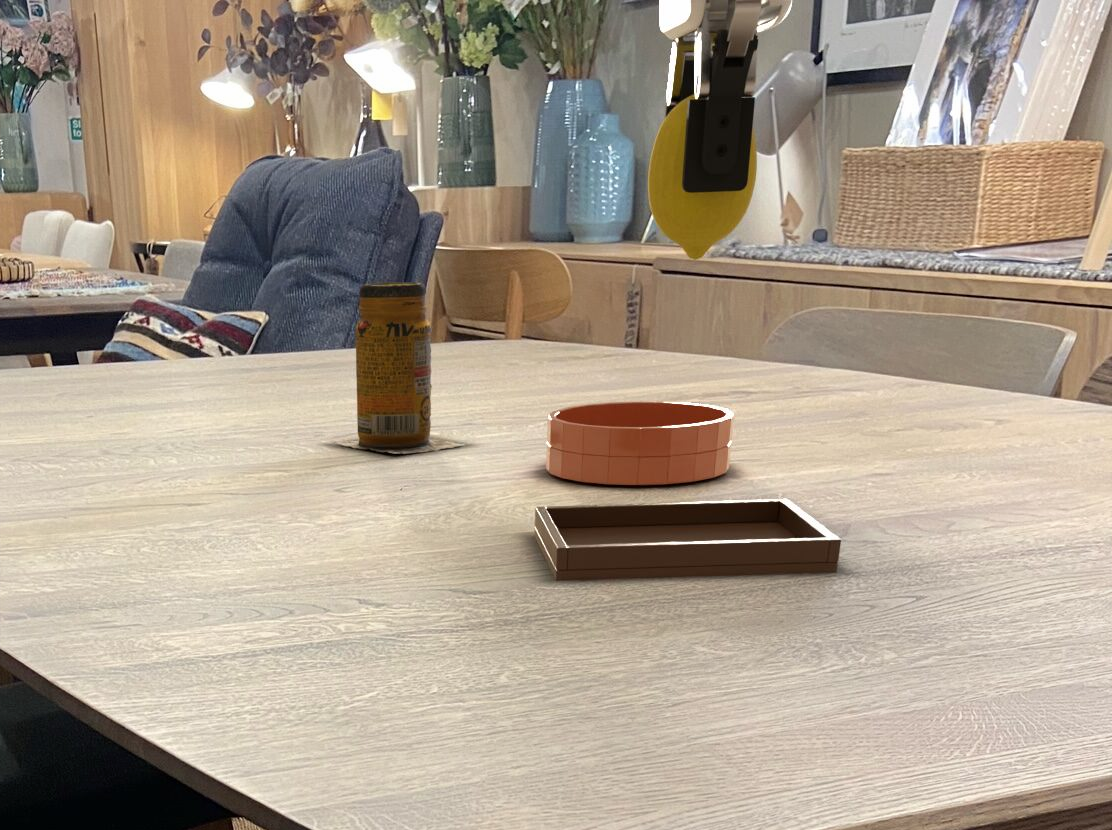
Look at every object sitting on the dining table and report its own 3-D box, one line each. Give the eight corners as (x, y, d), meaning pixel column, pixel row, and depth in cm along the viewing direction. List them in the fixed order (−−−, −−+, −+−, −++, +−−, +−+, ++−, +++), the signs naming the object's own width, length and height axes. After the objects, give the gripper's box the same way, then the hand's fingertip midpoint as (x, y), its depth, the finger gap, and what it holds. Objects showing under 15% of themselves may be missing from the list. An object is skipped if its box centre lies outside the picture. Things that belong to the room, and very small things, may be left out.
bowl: (706, 454, 111) (711, 399, 109) (745, 486, 100) (752, 424, 98) (537, 460, 111) (539, 404, 109) (557, 492, 100) (560, 430, 98)
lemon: (635, 259, 80) (644, 88, 76) (735, 255, 80) (750, 84, 76) (653, 264, 75) (664, 82, 71) (759, 260, 75) (777, 77, 71)
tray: (784, 529, 88) (787, 498, 87) (836, 573, 78) (841, 539, 77) (534, 537, 88) (535, 506, 87) (555, 582, 78) (557, 548, 77)
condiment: (404, 435, 123) (402, 279, 117) (466, 447, 117) (467, 282, 111) (333, 445, 120) (328, 285, 114) (394, 458, 114) (391, 289, 108)
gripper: (873, -316, 59) (817, 189, 68) (772, -217, 74) (737, 187, 83) (689, -308, 59) (658, 195, 68) (625, -211, 74) (606, 192, 83)
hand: (701, 187), depth 76 cm, fingers closed on lemon, 5 cm apart
